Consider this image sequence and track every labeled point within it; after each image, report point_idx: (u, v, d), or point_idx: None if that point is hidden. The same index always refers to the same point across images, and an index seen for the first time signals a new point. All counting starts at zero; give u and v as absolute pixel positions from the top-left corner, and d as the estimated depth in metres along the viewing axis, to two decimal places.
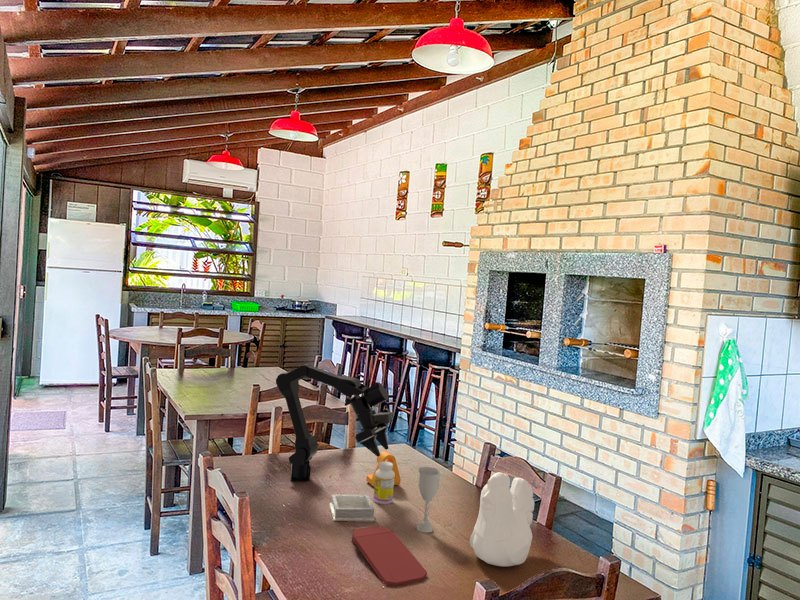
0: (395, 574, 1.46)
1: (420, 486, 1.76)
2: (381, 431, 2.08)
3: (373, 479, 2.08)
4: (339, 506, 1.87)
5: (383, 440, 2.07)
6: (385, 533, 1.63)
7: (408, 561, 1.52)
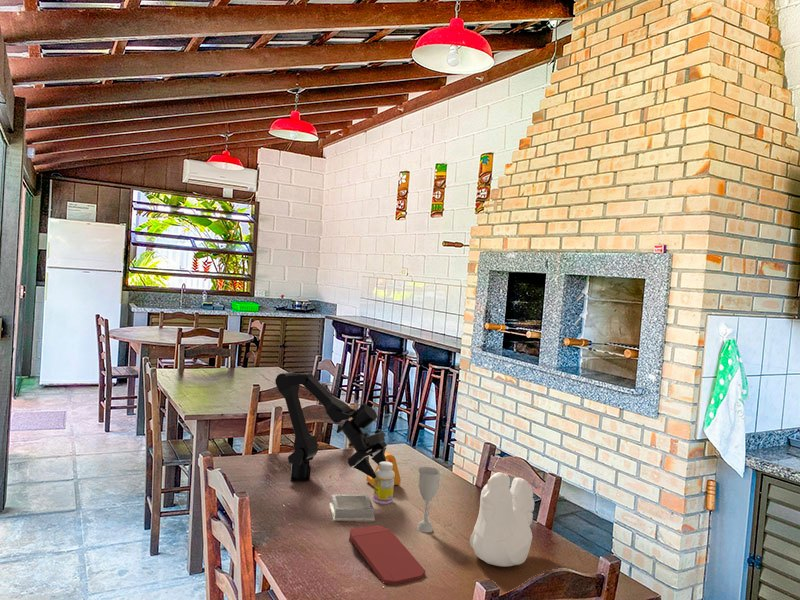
0: (394, 573, 1.46)
1: (420, 486, 1.76)
2: (379, 453, 2.03)
3: (373, 479, 2.08)
4: (339, 506, 1.87)
5: None
6: (383, 532, 1.64)
7: (406, 560, 1.52)
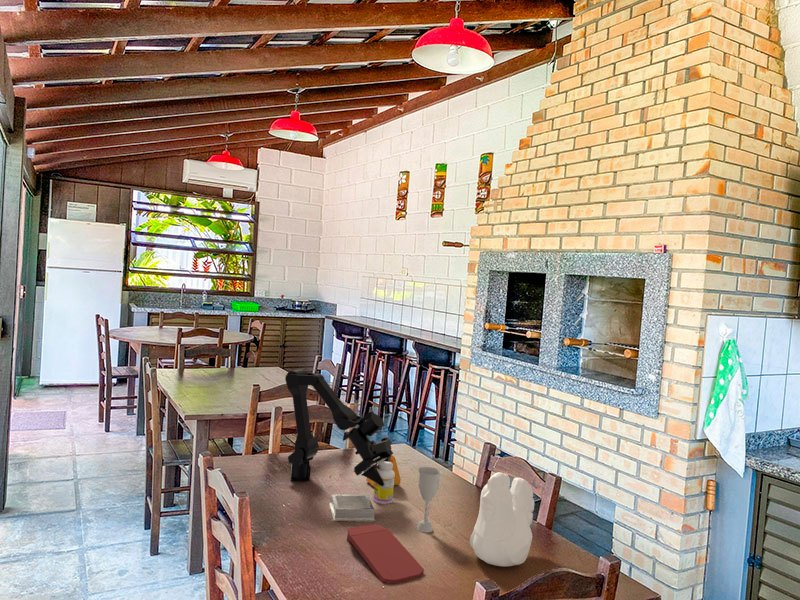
0: (392, 572, 1.47)
1: (420, 486, 1.76)
2: None
3: None
4: (339, 506, 1.87)
5: None
6: (380, 531, 1.64)
7: (404, 559, 1.53)
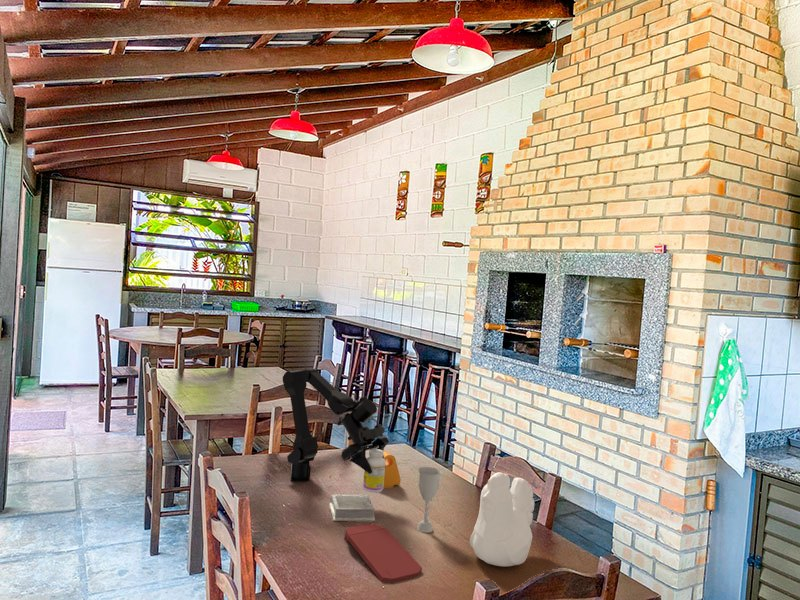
0: (391, 570, 1.47)
1: (420, 486, 1.76)
2: None
3: None
4: (339, 506, 1.87)
5: None
6: (378, 530, 1.65)
7: (402, 558, 1.54)
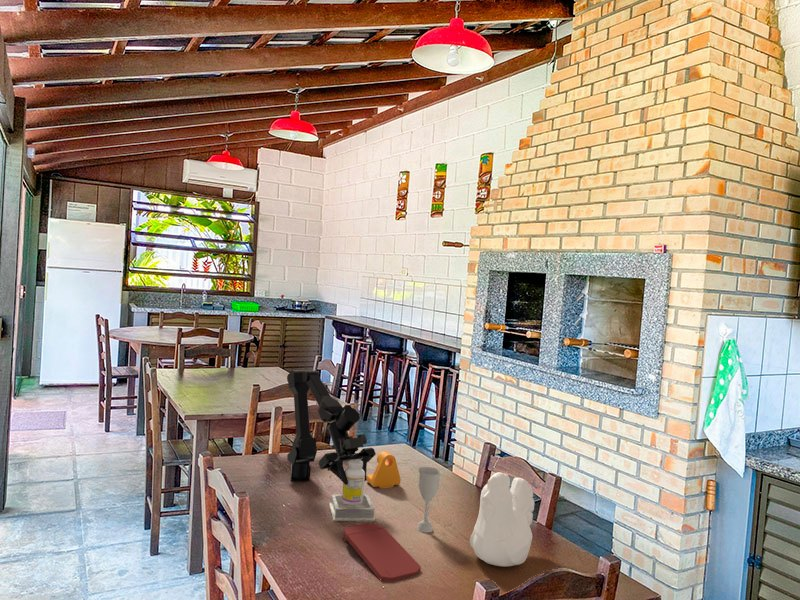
0: (390, 569, 1.48)
1: (420, 486, 1.76)
2: None
3: (373, 479, 2.08)
4: (339, 506, 1.87)
5: None
6: (376, 529, 1.65)
7: (401, 557, 1.54)
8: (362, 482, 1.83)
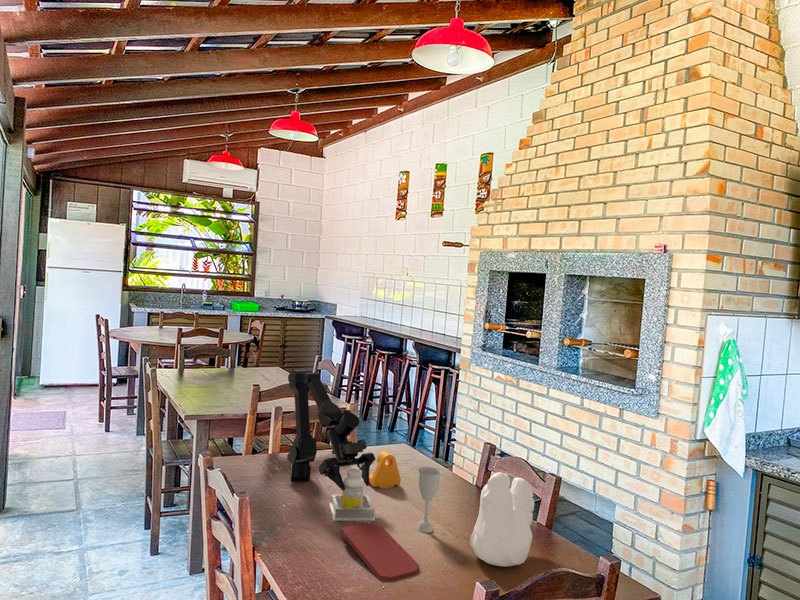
0: (389, 569, 1.48)
1: (420, 486, 1.76)
2: (363, 465, 1.89)
3: (373, 479, 2.08)
4: (339, 506, 1.87)
5: (365, 476, 1.88)
6: (375, 529, 1.65)
7: (400, 556, 1.55)
8: (361, 491, 1.83)
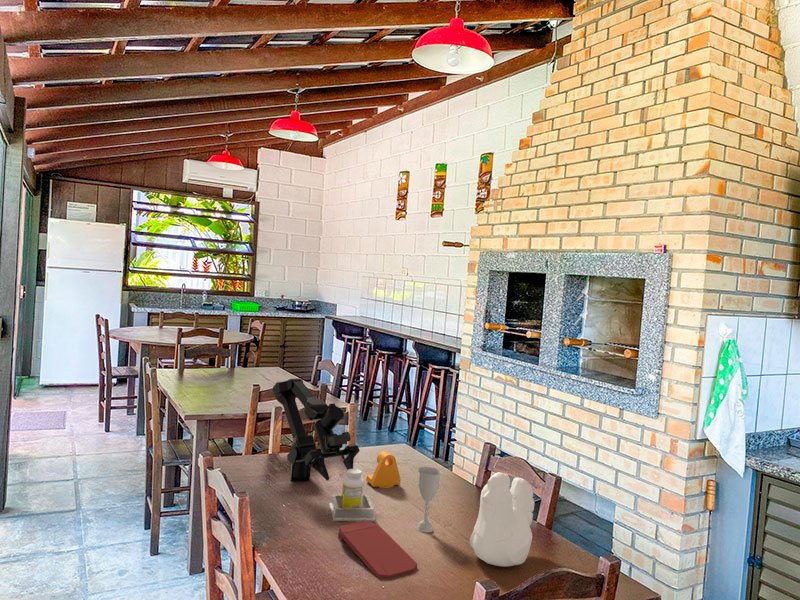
0: (387, 567, 1.49)
1: (420, 486, 1.76)
2: (348, 457, 1.97)
3: (373, 479, 2.08)
4: (339, 506, 1.87)
5: (349, 467, 1.96)
6: (372, 528, 1.66)
7: (397, 554, 1.55)
8: (361, 491, 1.83)
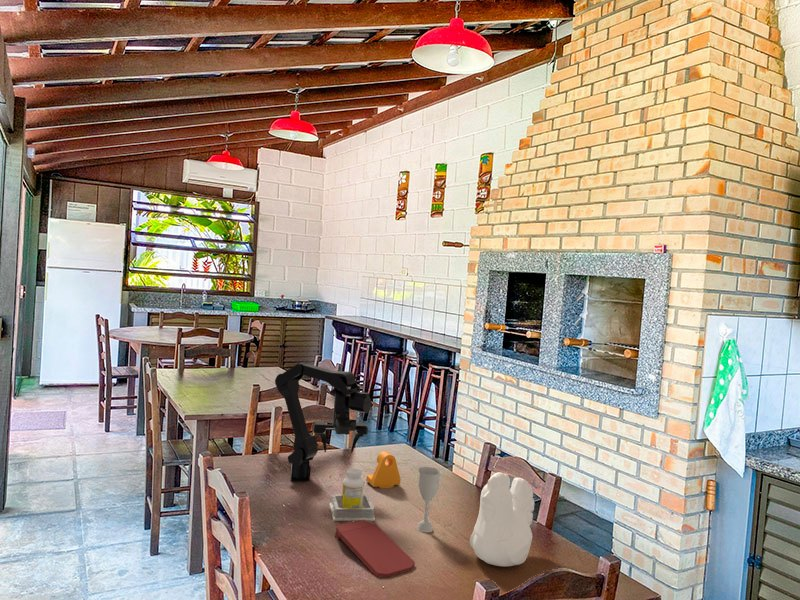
0: (385, 566, 1.50)
1: (420, 486, 1.76)
2: (354, 435, 2.04)
3: (373, 479, 2.08)
4: (339, 506, 1.87)
5: None
6: (369, 527, 1.66)
7: (395, 553, 1.56)
8: (361, 491, 1.83)
